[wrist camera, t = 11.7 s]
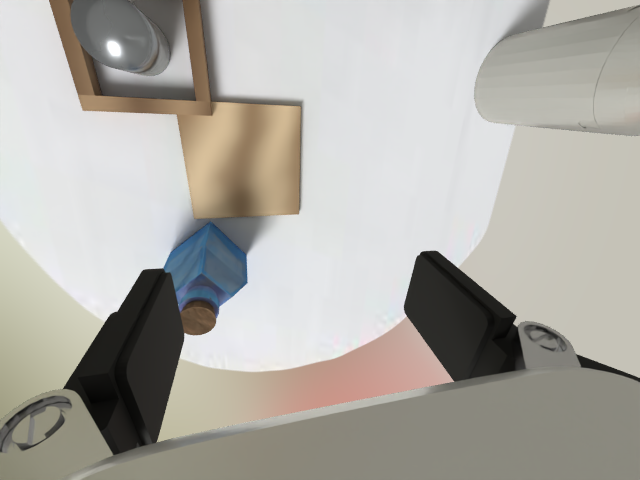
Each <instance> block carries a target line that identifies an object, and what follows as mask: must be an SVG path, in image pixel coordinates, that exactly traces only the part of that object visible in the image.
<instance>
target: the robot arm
mask: <svg viewBox="0 0 640 480" xmlns="http://www.w3.org/2000/svg"><path fill="white" fill-rule="evenodd" d="M474 100H475V105H476V108H477V110H478V113H479V114H480V115H481V117H482V118H483V119H485V120H486V121H488V122H492V123H498V124H509V125H520V126H530V127H540V128H551V129H561V130H571V131H582V132H592V133H603V134H615V135H626V136H640V5H637V6H632V7H628V8H624V9H620V10H615V11H611V12H607V13H603V14H599V15H594V16H590V17H586V18H582V19H577V20H573V21H569V22H565V23H560V24H556V25H552V26H548V27H543V28H539V29H535V30H531V31H526V32H522V33H518V34H514V35H511V36H508V37H506V38H505V39H503V40H501V41H500V42H499V43H498V44H497V45H495V46H494V47H493V48H492V49H491V51H490V52H489V53H488V55H487V56H486V58H485V59H484V61H483V63H482V65H481V67H480V69H479V72H478V75H477V78H476V82H475V88H474ZM404 311H405V314H406V315H407V317H408V318H409V319H410V321H411V322H412V323H413V325H414V326H415V327H416V329H417V330H418V332H419V333H420V334H421V336H422V337H423V339H424V340H425V342H426V343H427V344H428V346H429V347H430V348H431V350H432V351H433V353H434V354H435V355H436V357H437V358H438V360H439V361H440V362H441V364H442V365H443V367H444V368H445V369H446V371H447V372H448V373H449V375H450V376H451V378H452V379H453V380H454V381H455V382H451V383H445V384H441V385H435V386H430V387H424V388H420V389H414V390H409V391H404V392H398V393H393V394H388V395H383V396H378V397H372V398H368V399H362V400H357V401H352V402H347V403H342V404H337V405H331V406H326V407H322V408H316V409H311V410H307V411H302V412H296V413H292V414H286V415H281V416H276V417H272V418H267V419H262V420H257V421H252V422H247V423H241V424H237V425H232V426H227V427H223V428H218V429H214V430H209V431H204V432H200V433H196V434H191V435H186V436H182V437H177V438H172V439H169V440H165V441H161V442H157V439H158V436H159V432H160V429H161V425H162V421H163V417H164V414H165V410H166V406H167V402H168V399H169V395H170V391H171V387H172V383H173V380H174V376H175V372H176V368H177V365H178V360H179V357H180V353H181V350H182V346H183V342H184V329H183V324H182V320H181V315H180V310H179V306H178V301H177V297H176V292H175V288H174V283H173V279H172V275H171V273H170V272H165V270H164V269H163V268H162V269H146V270H143V271H142V272H141V274H140V276H139V277H138V279H137V280H136V282H135V284H134V285H133V287H132V289H131V290H130V292H129V294H128V295H127V297H126V299H125V300H124V302H123V303H122V305H121V307H120V308H119V310H118V312H114V313H112V314H111V315H110V316H109V317H108V319H107V320H106V322H105V323H104V325H103V327H102V328H101V330H100V331H99V333H98V335H97V336H96V338H95V339H94V341H93V342H92V344H91V346H90V347H89V349H88V351H87V352H86V353H85V355H84V357H83V358H82V360H81V361H80V363H79V364H78V366H77V368H76V369H75V371H74V372H73V374H72V375H71V377H70V378H69V380H68V382H67V383H66V385H65V386H64V388H63V389H60V390H53V391H49V392H46V393H42V394H40V395H38V396H35V397H33V398H31V399H29V400H27V401H25V402H24V403H22V404H21V405H19V406H18V407H16V408H14V409H13V410H12V411H11V412H9V413H8V414H7V415H6V416H5V417H3V418H2V419H1V420H0V480H640V378H638V377H636V376H633V375H630V374H628V373H625V372H623V371H620V370H617V369H614V368H612V367H609V366H607V365H604V364H601V363H598V362H596V361H593V360H590V359H588V358H585V357H582V356H580V355H577V354H576V353H575V351H574V349H573V347H572V345H571V343H570V342H569V341H568V340H567V339H566V338H565V337H564V336H563V335H561V334H560V333H559V332H557V331H556V330H554V329H552V328H550V327H548V326H545V325H543V324H540V323H536V322H529V321H525V322H521V323H520V324H519V325H518V327H516V326H515V325H514V324H513V322H514V321H515V319H516V315H514V314H513V313H512V312H511V311H510V310H508V309H507V308H506V307H505V306H503V305H502V304H501V303H500V302H499V301H497V300H496V299H495V298H494V297H493V296H491V295H490V294H489V293H488V292H486V291H485V290H484V289H483V288H482V287H480V286H479V285H478V284H477V283H476V282H474V281H473V280H472V279H471V278H469V277H468V276H467V275H466V274H465V273H463V272H462V271H461V270H460V269H458V268H457V267H456V266H455V265H454V264H452V263H451V262H450V261H449V260H448V259H446V258H445V257H444V256H443V255H441V254H440V253H439V252H438V251H423V252H421V253H420V255H418V256H417V258H416V261H415V265H414V269H413V273H412V277H411V281H410V285H409V288H408V292H407V296H406V300H405V304H404ZM156 442H157V443H156Z"/></svg>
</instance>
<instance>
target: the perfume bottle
mask: <svg viewBox="0 0 640 480" xmlns="http://www.w3.org/2000/svg"><path fill="white" fill-rule="evenodd" d="M163 269H164V270H165V272H170V273H171V275H172V279H173V283H174V288H175V292H176V297H177V301H178V304H179V310H180V315H181V320H182V324H183V329H184V333H186V334H189V335H202V334H205V333H207V332H209V331H211V330H212V329H213V328H214V326H215V324H216V318H217V316H218V314H219V306H221V305H222V304H223V303H225V302H226V301H227V300H229V299H230V298H231V297H233V296H234V295H235V294H236V293H237V292H238V291H239V290H240V289H241V288H242V287H243V286H245V285H246V284H247V257H246V254H245V253H244V252H243V251H242V250H240V249H239V248H238V247H237V246H236V245H235V244H234V243H233V242H232V241H231V240H230V239H229V238H228V237H227V236H226V235H224V234H223V233H222V232H221V231H220V230H219V229H218V228H217V227H216V226H215V225H214V224H213V223H212V222H211V221H210V222H209V223H208V224H207V225H205V226H204V227H203V228H201V229H200V230H199V231H198V232H196V233H195V234H194V235H192V236H191V237H190V238H189V239H187V240H186V241H185V242H183V243H182V244H181V245H180V246H178V247H177V248H176V249H174V250H173V251H172V252H171V253H170V255H169V257H168V259H167V262H166V264H165V266H164V268H163Z"/></svg>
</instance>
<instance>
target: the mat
mask: <svg viewBox="0 0 640 480" xmlns="http://www.w3.org/2000/svg"><path fill="white" fill-rule="evenodd" d="M188 101H190V100H188ZM211 107H212V116H202V115H178V114H177V119H178V125H179V131H180V137H181V143H182V149H183V155H184V161H185V166H186V172H187V178H188V184H189V190H190V196H191V202H192V208H193V214H194V219H204V218H226V217H248V216H270V215H292V214H299V180H300V123H301V106H283V105H265V104H246V103H227V102H211Z"/></svg>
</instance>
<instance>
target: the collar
mask: <svg viewBox="0 0 640 480" xmlns="http://www.w3.org/2000/svg"><path fill="white" fill-rule="evenodd" d="M182 1H183V8H184V16H185V23H186V31H187V38H188V45H189V53H190V60H191V67H192V75H193V82H194V89H195V97H196V101H188V100H171V99H153V98H134V97H115V96H102V93H101V89H100V85H99V82H98V78H97V74H96V71H95V67H94V63H93V59H92V56H91V55H90V54H89V53H88V52H87V51H86V50H85V49H84V48H83V47H82V45H81V44H80V42H79V41H78V39H77V37H76V35H75V33H74V30H73V28H72V24H71V17H70V12H71V5H72V3H73V0H49V2H50V5H51V8H52V12H53V15H54V18H55V21H56V25H57V28H58V31H59V34H60V38H61V41H62V44H63V48H64V51H65V54H66V57H67V61H68V64H69V67H70V70H71V74H72V77H73V80H74V83H75V87H76V90H77V93H78V97H79V100H80V103H81V106H82V110H83V111H106V112H130V113H154V114H178V115H202V116H212V107H211V94H210V85H209V76H208V67H207V58H206V50H205V41H204V32H203V23H202V14H201V6H200V0H182Z"/></svg>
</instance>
